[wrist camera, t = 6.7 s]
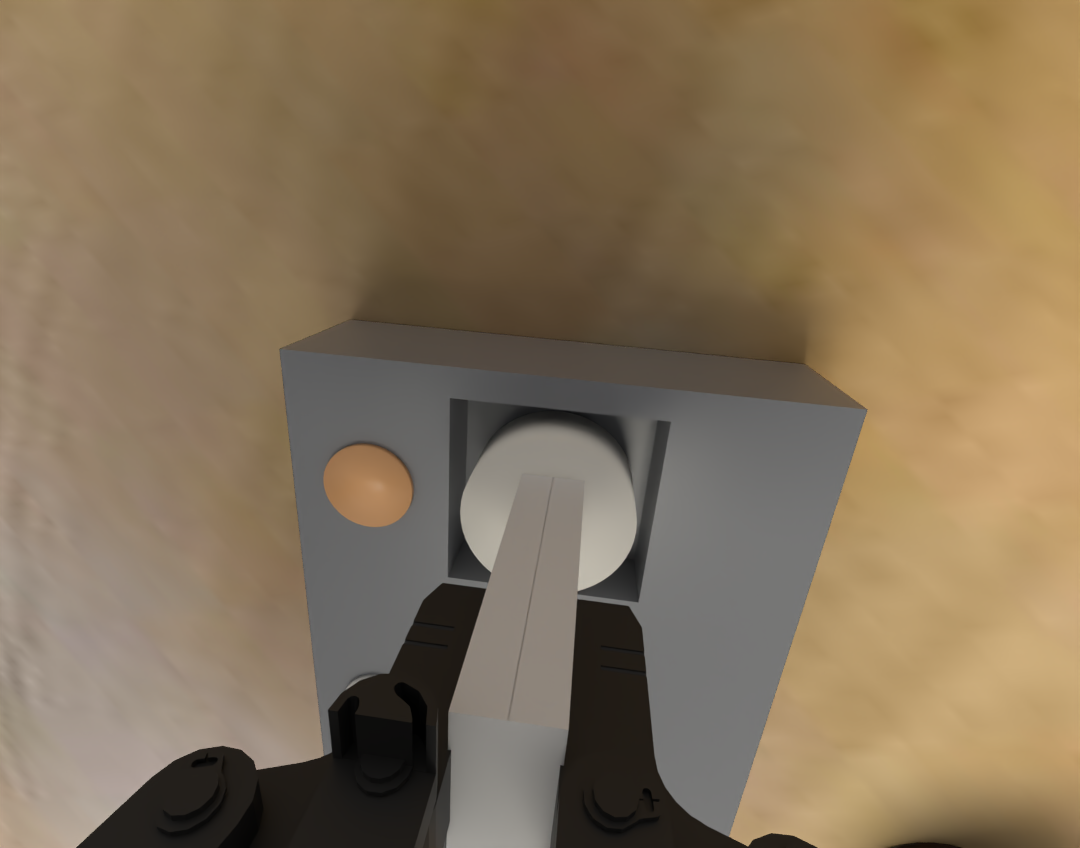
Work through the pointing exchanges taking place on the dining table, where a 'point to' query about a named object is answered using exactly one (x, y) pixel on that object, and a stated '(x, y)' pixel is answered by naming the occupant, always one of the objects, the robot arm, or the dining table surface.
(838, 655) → the dining table surface
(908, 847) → the coffee mug
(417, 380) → the button board
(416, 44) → the dining table surface
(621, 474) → the button
